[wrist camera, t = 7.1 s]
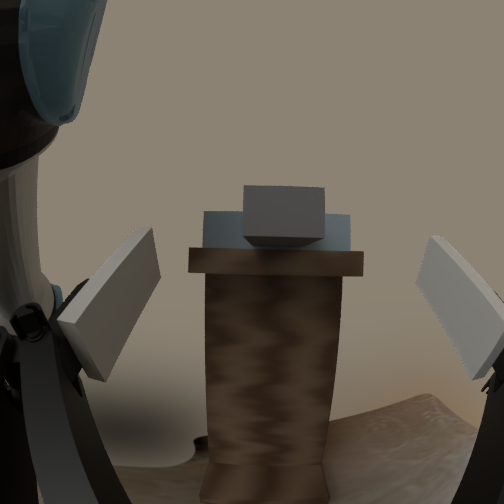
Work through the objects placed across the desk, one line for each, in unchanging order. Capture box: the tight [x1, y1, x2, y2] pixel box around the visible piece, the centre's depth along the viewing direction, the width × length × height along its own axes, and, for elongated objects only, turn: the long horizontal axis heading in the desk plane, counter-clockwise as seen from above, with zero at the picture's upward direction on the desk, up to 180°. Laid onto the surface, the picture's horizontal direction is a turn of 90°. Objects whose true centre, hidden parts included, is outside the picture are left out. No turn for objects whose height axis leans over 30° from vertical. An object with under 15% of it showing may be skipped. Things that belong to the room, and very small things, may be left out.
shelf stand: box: [188, 248, 364, 504], centre depth 26 cm, size 14×9×28 cm, turn 87°
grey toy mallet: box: [202, 185, 350, 251], centre depth 22 cm, size 12×17×3 cm
